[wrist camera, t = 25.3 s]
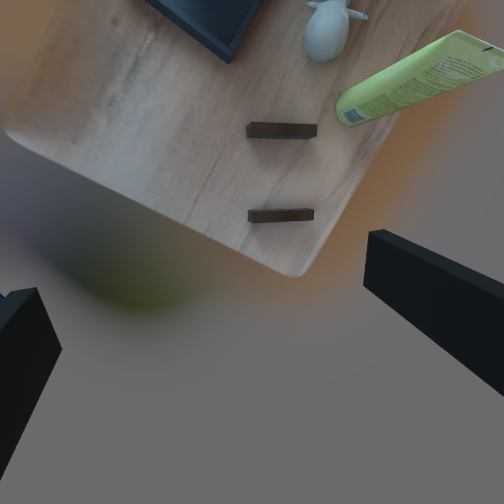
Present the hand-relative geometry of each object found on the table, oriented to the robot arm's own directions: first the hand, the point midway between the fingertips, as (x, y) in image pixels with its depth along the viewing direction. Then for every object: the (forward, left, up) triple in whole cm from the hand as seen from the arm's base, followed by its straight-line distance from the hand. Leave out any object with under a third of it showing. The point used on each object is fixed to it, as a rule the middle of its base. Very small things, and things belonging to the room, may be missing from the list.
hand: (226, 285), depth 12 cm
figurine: (+22, +29, -29) cm, 47 cm away
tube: (+23, +14, -29) cm, 40 cm away
